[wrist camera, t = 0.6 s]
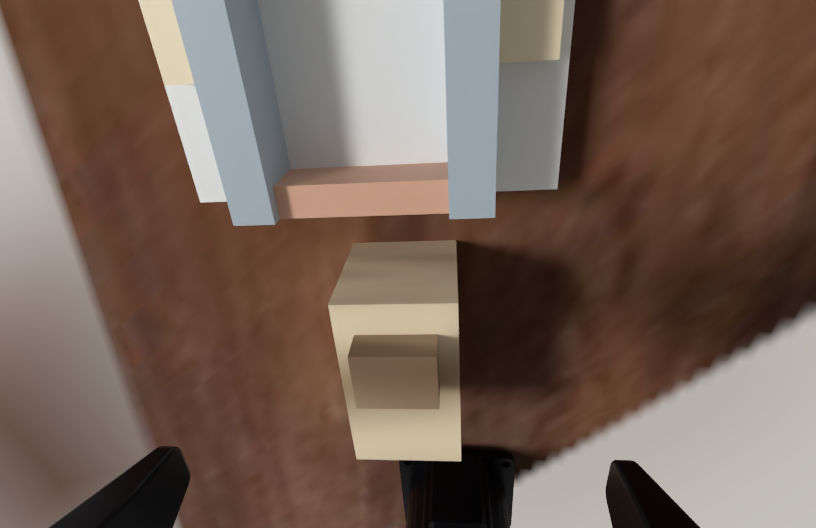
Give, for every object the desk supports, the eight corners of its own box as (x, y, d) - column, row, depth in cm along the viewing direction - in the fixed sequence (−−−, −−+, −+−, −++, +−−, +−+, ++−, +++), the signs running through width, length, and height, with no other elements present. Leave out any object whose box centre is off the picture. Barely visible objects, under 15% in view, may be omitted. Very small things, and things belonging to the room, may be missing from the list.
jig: (550, 178, 18) (573, 215, 15) (214, 192, 19) (166, 227, 16) (588, -255, 12) (639, -354, 9) (104, -189, 14) (-5, -254, 10)
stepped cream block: (458, 378, 23) (462, 487, 18) (373, 377, 24) (351, 484, 18) (456, 238, 20) (459, 324, 14) (354, 241, 20) (319, 325, 15)
